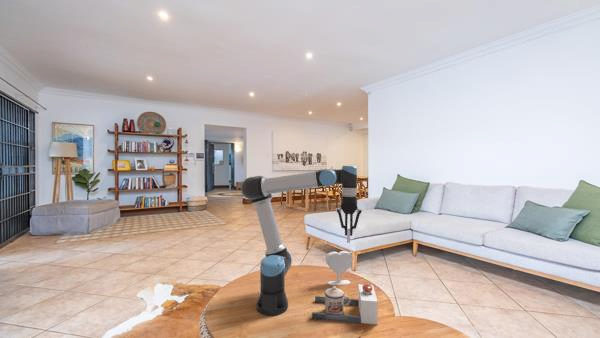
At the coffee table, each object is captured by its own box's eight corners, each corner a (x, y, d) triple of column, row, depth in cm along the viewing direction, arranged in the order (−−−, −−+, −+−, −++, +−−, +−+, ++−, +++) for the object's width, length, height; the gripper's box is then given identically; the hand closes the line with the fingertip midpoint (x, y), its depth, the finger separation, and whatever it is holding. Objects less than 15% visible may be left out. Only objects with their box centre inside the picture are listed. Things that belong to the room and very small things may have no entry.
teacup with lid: (326, 317, 122) (326, 291, 122) (323, 306, 131) (323, 282, 131) (352, 316, 122) (352, 290, 122) (347, 306, 131) (347, 282, 131)
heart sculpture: (349, 279, 162) (350, 250, 162) (353, 283, 157) (353, 252, 157) (325, 281, 159) (325, 251, 159) (327, 285, 154) (327, 254, 154)
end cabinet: (360, 323, 117) (361, 300, 117) (358, 304, 133) (358, 284, 133) (377, 324, 116) (377, 301, 116) (372, 305, 132) (373, 285, 132)
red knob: (362, 303, 123) (363, 288, 123) (362, 299, 127) (362, 284, 127) (372, 304, 122) (372, 289, 122) (371, 299, 126) (371, 285, 126)
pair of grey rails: (311, 319, 120) (311, 313, 120) (315, 300, 136) (315, 296, 136) (360, 323, 117) (361, 317, 117) (358, 304, 133) (358, 299, 133)
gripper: (336, 196, 134) (335, 243, 135) (362, 197, 132) (361, 244, 132) (336, 194, 142) (335, 239, 142) (361, 195, 139) (361, 240, 140)
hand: (348, 241), depth 137 cm, fingers closed
